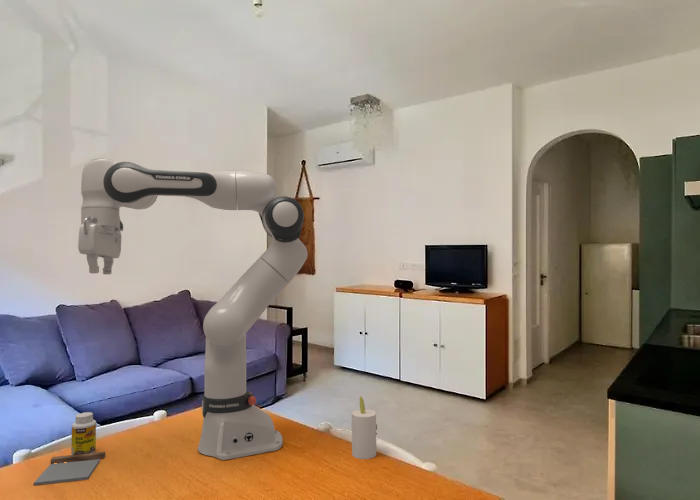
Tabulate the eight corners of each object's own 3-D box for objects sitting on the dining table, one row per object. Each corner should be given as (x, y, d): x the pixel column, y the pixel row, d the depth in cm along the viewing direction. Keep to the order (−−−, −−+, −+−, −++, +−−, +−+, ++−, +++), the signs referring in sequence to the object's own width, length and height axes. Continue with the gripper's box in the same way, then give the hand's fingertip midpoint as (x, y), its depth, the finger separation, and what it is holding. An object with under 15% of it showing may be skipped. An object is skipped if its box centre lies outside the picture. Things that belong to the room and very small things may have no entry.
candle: (380, 457, 116) (380, 397, 117) (356, 460, 114) (355, 400, 115) (372, 447, 122) (371, 391, 123) (349, 450, 120) (348, 393, 121)
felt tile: (99, 461, 115) (100, 459, 115) (87, 479, 105) (87, 476, 105) (50, 466, 112) (50, 464, 112) (33, 485, 103) (33, 482, 103)
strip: (105, 456, 118) (105, 451, 118) (103, 458, 117) (103, 454, 117) (53, 461, 115) (53, 456, 115) (50, 464, 114) (50, 459, 114)
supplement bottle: (71, 460, 116) (72, 419, 116) (70, 452, 121) (71, 413, 121) (96, 454, 119) (97, 415, 119) (94, 447, 124) (95, 409, 124)
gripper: (99, 214, 110) (99, 272, 109) (125, 225, 130) (125, 274, 129) (70, 215, 109) (70, 273, 108) (101, 226, 129) (101, 275, 128)
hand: (100, 273), depth 119 cm, fingers open, 8 cm apart
